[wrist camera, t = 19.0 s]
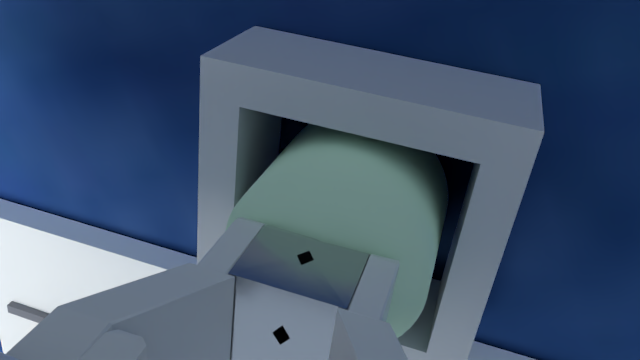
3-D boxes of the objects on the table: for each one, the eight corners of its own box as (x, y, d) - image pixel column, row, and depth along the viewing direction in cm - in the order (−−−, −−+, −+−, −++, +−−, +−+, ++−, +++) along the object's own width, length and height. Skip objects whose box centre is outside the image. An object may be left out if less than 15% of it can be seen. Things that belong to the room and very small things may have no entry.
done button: (467, 133, 12) (452, 205, 9) (427, 282, 13) (405, 376, 11) (288, 93, 12) (228, 148, 10) (274, 238, 14) (220, 316, 12)
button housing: (539, 84, 11) (544, 131, 9) (465, 315, 14) (456, 392, 12) (255, 26, 12) (200, 56, 10) (240, 249, 15) (195, 308, 13)
